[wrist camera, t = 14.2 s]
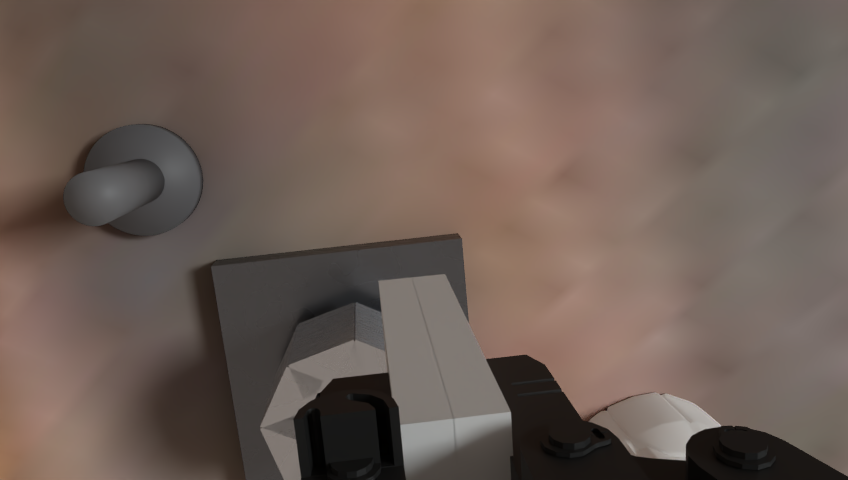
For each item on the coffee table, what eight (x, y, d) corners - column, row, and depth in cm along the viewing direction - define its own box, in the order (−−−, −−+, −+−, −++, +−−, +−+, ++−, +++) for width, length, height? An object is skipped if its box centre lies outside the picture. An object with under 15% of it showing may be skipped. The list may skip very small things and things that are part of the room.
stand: (80, 129, 36) (5, 136, 29) (193, 118, 37) (150, 123, 29) (101, 237, 38) (35, 273, 30) (210, 226, 38) (173, 257, 30)
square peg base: (216, 260, 39) (175, 306, 30) (457, 233, 40) (486, 270, 31) (251, 480, 42) (223, 581, 33) (476, 449, 43) (507, 539, 34)
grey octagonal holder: (314, 285, 36) (306, 320, 31) (447, 339, 38) (464, 382, 32) (258, 413, 38) (240, 470, 32) (390, 461, 39) (396, 524, 33)
